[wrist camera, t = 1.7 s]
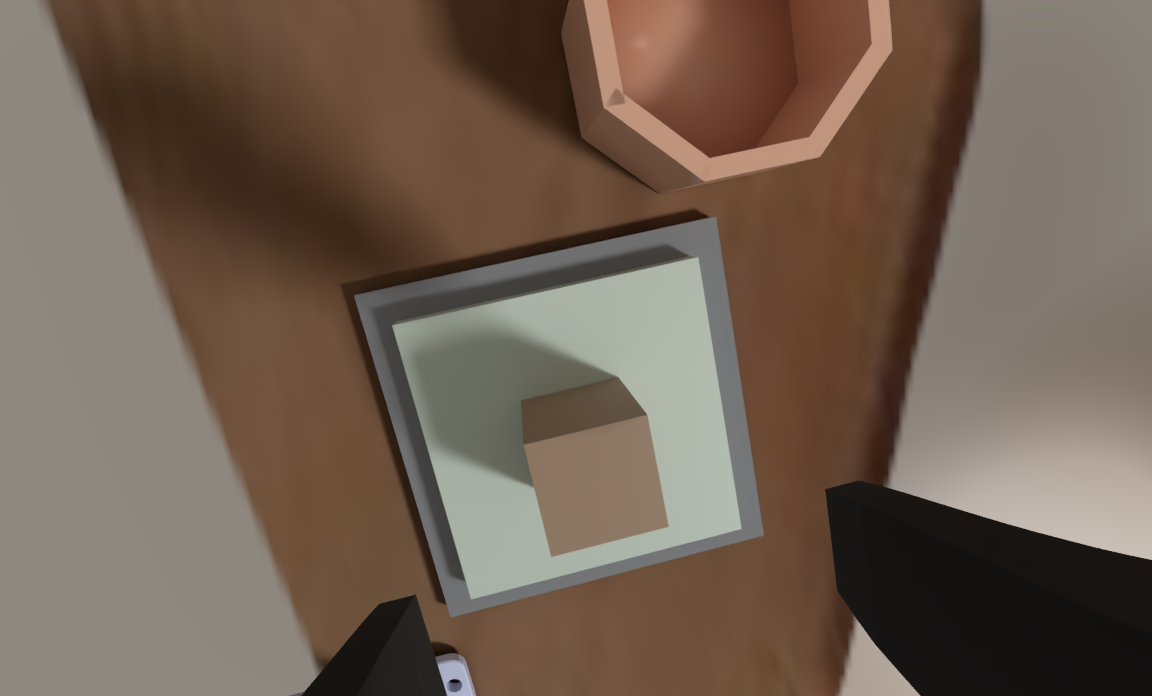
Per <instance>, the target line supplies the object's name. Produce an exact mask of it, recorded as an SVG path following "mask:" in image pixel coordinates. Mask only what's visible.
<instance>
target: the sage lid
mask: <svg viewBox="0 0 1152 696" xmlns="http://www.w3.org/2000/svg"><path fill="white" fill-rule="evenodd" d="M392 327H393V330H394V334H395V337H396V341H397V344H398V348H399V351H400V355H401V358H402V362H403V365H404V368H405V372H406V375H407V379H408V382H409V386H410V389H411V393H412V396H413V400H414V403H415V407H416V410H417V414H418V417H419V421H420V424H421V427H422V431H423V434H424V438H425V441H426V445H427V448H428V452H429V455H430V459H431V462H432V466H433V469H434V473H435V476H436V480H437V483H438V486H439V490H440V493H441V497H442V500H443V504H444V507H445V511H446V514H447V518H448V521H449V525H450V528H451V532H452V535H453V538H454V542H455V545H456V549H457V552H458V556H459V559H460V563H461V566H462V570H463V573H464V577H465V580H466V584H467V587H468V591H469V594H470V597H471V599H475V598H479V597H483V596H486V595H490V594H494V593H498V592H502V591H506V590H509V589H513V588H517V587H521V586H525V585H529V584H532V583H536V582H540V581H544V580H548V579H552V578H555V577H559V576H563V575H567V574H571V573H575V572H579V571H582V570H586V569H590V568H594V567H598V566H602V565H605V564H609V563H613V562H617V561H621V560H625V559H628V558H632V557H636V556H640V555H644V554H648V553H651V552H655V551H659V550H663V549H667V548H671V547H674V546H678V545H682V544H686V543H690V542H694V541H697V540H701V539H705V538H709V537H713V536H717V535H721V534H724V533H728V532H732V531H736V530H740V529H742V528H741V522H740V515H739V509H738V503H737V497H736V490H735V484H734V478H733V471H732V465H731V459H730V453H729V446H728V440H727V434H726V427H725V421H724V415H723V409H722V402H721V396H720V390H719V384H718V377H717V371H716V365H715V358H714V352H713V346H712V340H711V333H710V327H709V321H708V314H707V308H706V302H705V296H704V289H703V283H702V277H701V270H700V264H699V258H698V257H693V256H688V257H683V258H679V259H674V260H670V261H666V262H661V263H657V264H652V265H648V266H643V267H639V268H634V269H630V270H625V271H621V272H616V273H612V274H607V275H603V276H598V277H594V278H589V279H585V280H580V281H576V282H571V283H567V284H562V285H558V286H553V287H549V288H544V289H540V290H536V291H531V292H527V293H522V294H518V295H513V296H509V297H504V298H500V299H495V300H491V301H486V302H482V303H477V304H473V305H468V306H464V307H459V308H455V309H450V310H446V311H441V312H437V313H432V314H428V315H423V316H419V317H414V318H410V319H405V320H401V321H397V322H396V323H395V324H393V325H392Z"/></svg>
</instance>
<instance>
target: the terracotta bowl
mask: <svg viewBox="0 0 1152 696" xmlns="http://www.w3.org/2000/svg"><path fill="white" fill-rule="evenodd" d="M561 36H562V41H563V46H564V51H565V56H566V61H567V66H568V71H569V76H570V82H571V87H572V92H573V97H574V102H575V107H576V112H577V117H578V122H579V127H580V133H581V138H582V139H584V140H585V141H586V142H588V143H589V144H591V145H592V146H593V147H595V148H596V149H598V150H599V151H600V152H602V153H603V154H605V155H606V156H607V157H609V158H610V159H612V160H613V161H614V162H616V163H617V164H619V165H620V166H621V167H623V168H624V169H626V170H627V171H628V172H630V173H631V174H633V175H634V176H635V177H637V178H638V179H640V180H641V181H642V182H644V183H645V184H647V185H648V186H649V187H651V188H652V189H654V190H655V191H656V192H658V193H659V194H663V193H668V192H672V191H677V190H682V189H686V188H691V187H696V186H700V185H705V184H710V183H714V182H719V181H724V180H728V179H733V178H738V177H742V176H747V175H751V174H755V173H759V172H763V171H767V170H771V169H775V168H779V167H783V166H787V165H790V164H794V163H798V162H802V161H806V160H810V159H814V158H818V157H820V156H821V155H822V153H823V152H824V150H825V149H826V147H827V146H828V144H829V143H830V141H831V140H832V138H833V137H834V135H835V134H836V132H837V131H838V129H839V128H840V126H841V125H842V124H843V122H844V121H845V119H846V118H847V116H848V115H849V113H850V112H851V110H852V109H853V107H854V106H855V104H856V103H857V101H858V100H859V98H860V97H861V95H862V94H863V92H864V91H865V89H866V88H867V87H868V85H869V84H870V82H871V81H872V79H873V78H874V76H875V75H876V73H877V72H878V70H879V69H880V67H881V66H882V64H883V63H884V61H885V60H886V58H887V57H888V55H889V54H890V52H891V51H892V50H893V49H892V36H891V23H890V10H889V0H569V2H568V6H567V10H566V14H565V18H564V22H563V26H562V30H561Z"/></svg>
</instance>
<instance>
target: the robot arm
mask: <svg viewBox="0 0 1152 696" xmlns="http://www.w3.org/2000/svg"><path fill="white" fill-rule="evenodd" d="M825 490H826V499H827V507H828V515H829V524H830V532H831V541H832V549H833V557H834V566H835V574H836V583H837V591H838V592H839V594H840V595H841V597H842V598H843V599H844V601H845V602H846V604H847V605H848V607H849V608H850V610H851V611H852V613H853V614H854V616H855V617H856V619H857V620H858V621H859V623H860V624H861V625H862V627H863V628H864V630H865V631H866V632H867V634H868V635H869V636H870V638H871V639H872V641H873V642H874V643H875V645H876V646H877V647H878V648H879V649H880V650H881V651H882V653H883V654H884V655H885V656H886V657H887V658H888V660H889V661H890V662H891V663H892V664H893V665H894V666H895V667H896V668H897V670H898V671H899V672H900V673H901V674H902V675H903V676H904V678H905V679H906V680H907V681H908V682H909V683H910V684H911V686H912V687H913V688H914V689H915V690H916V691H917V692H918V693H919V694H920V695H921V696H1152V560H1149V559H1144V558H1139V557H1135V556H1130V555H1125V554H1121V553H1117V552H1112V551H1108V550H1103V549H1099V548H1095V547H1091V546H1087V545H1083V544H1080V543H1076V542H1071V541H1068V540H1064V539H1060V538H1057V537H1053V536H1049V535H1045V534H1041V533H1037V532H1034V531H1030V530H1027V529H1023V528H1020V527H1016V526H1012V525H1008V524H1005V523H1002V522H998V521H995V520H992V519H988V518H985V517H982V516H978V515H975V514H972V513H968V512H965V511H962V510H958V509H955V508H952V507H949V506H946V505H942V504H939V503H936V502H932V501H929V500H926V499H923V498H920V497H916V496H913V495H910V494H906V493H903V492H900V491H897V490H893V489H890V488H886V487H883V486H879V485H875V484H871V483H866V482H862V481H855V482H852V483H848V484H844V485H840V486H836V487H832V488H828V489H825ZM452 679H458V680H460V682H458V683H452V682H450V680H452ZM291 696H476V693H475V690H474V687H473V683H472V680H471V677H470V673H469V670H468V667H467V663H466V661H465V659H464V657H462V656H461V655H459V654H456V653H449V654H445V655H441V656H437V657H435V655H434V652H433V648H432V645H431V642H430V639H429V636H428V632H427V629H426V626H425V623H424V620H423V616H422V613H421V610H420V607H419V604H418V601H417V597H416V595H413V596H409V597H405V598H401V599H397V600H393V601H389V602H385V603H382V604H379V605H378V606H377V607H376V608H375V609H374V610H373V611H372V612H371V613H370V615H369V616H368V617H367V618H366V619H365V620H364V621H363V623H362V624H361V625H360V626H359V627H358V629H357V630H356V631H355V632H354V633H353V635H352V636H351V637H350V638H349V639H348V641H347V642H346V643H345V644H344V645H343V647H342V648H341V649H340V650H339V651H338V653H337V654H336V655H335V656H334V657H333V659H332V660H331V661H330V662H329V663H328V665H327V666H326V667H325V668H324V669H323V670H322V672H321V673H320V674H319V675H318V676H317V678H316V679H315V680H314V681H313V682H312V684H311V685H310V686H309V687H308V688H307V689H306V691H305V692H302V693H298V694H295V695H291Z"/></svg>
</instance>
